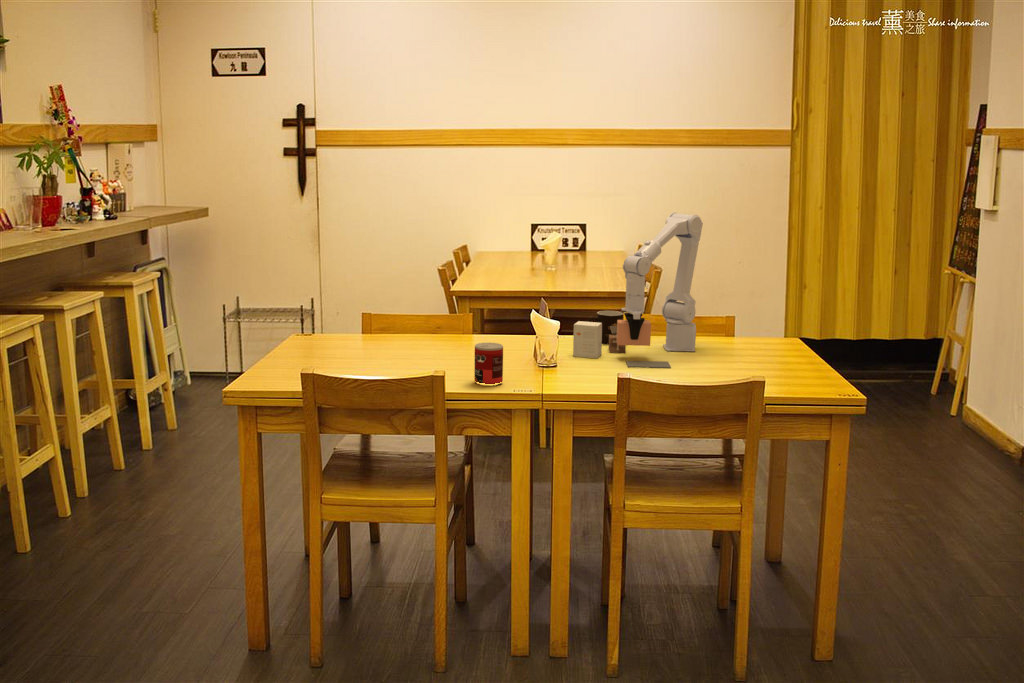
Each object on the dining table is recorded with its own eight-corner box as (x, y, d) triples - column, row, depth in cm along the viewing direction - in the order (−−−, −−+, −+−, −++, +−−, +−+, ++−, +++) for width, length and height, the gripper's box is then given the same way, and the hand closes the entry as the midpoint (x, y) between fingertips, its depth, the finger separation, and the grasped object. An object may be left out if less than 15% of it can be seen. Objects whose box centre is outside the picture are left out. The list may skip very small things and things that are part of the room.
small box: (601, 355, 329) (602, 322, 327) (597, 358, 324) (598, 325, 322) (577, 352, 332) (578, 320, 330) (572, 356, 327) (573, 323, 324)
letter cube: (623, 349, 337) (624, 334, 336) (625, 353, 332) (625, 337, 331) (608, 349, 337) (609, 334, 336) (609, 353, 332) (610, 337, 331)
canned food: (473, 379, 297) (474, 342, 294) (501, 379, 297) (502, 342, 295) (475, 386, 289) (475, 348, 287) (503, 386, 290) (504, 348, 287)
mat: (667, 362, 321) (667, 361, 320) (671, 368, 314) (671, 366, 314) (625, 361, 321) (625, 360, 321) (628, 367, 314) (628, 366, 314)
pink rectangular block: (648, 342, 326) (649, 320, 325) (650, 345, 322) (651, 323, 320) (616, 341, 326) (617, 319, 325) (617, 345, 322) (618, 323, 320)
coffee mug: (621, 340, 351) (623, 311, 349) (622, 345, 343) (623, 316, 341) (587, 338, 352) (588, 310, 350) (586, 344, 344) (587, 314, 342)
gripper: (620, 290, 328) (618, 332, 331) (624, 298, 314) (622, 342, 317) (642, 290, 328) (640, 332, 331) (647, 298, 313) (645, 342, 316)
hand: (633, 337), depth 324 cm, fingers closed on pink rectangular block, 5 cm apart
